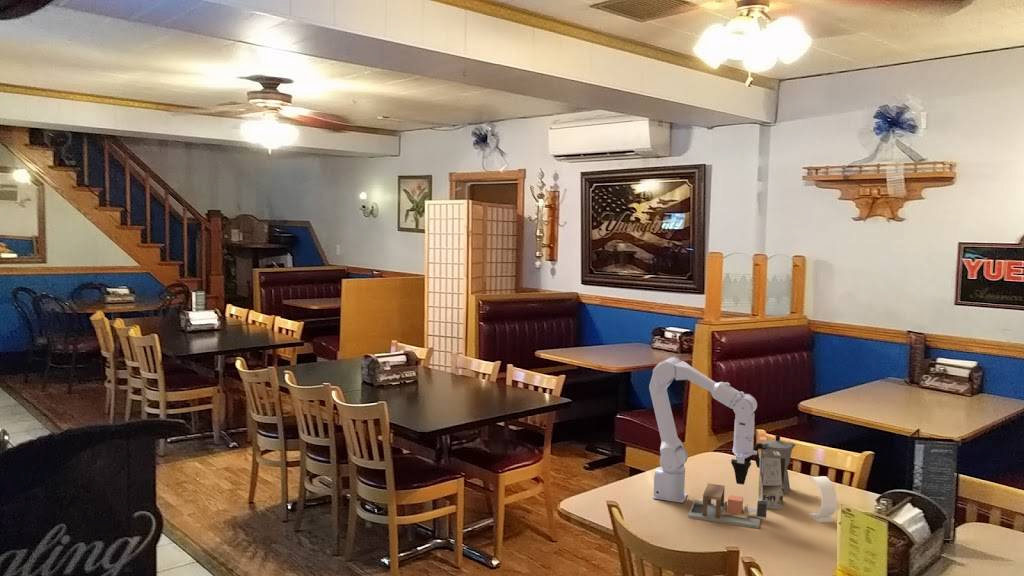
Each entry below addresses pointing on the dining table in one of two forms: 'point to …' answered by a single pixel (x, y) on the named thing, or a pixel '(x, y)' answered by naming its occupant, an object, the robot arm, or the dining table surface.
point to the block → (735, 504)
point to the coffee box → (771, 478)
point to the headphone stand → (825, 500)
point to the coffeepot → (786, 451)
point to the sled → (760, 510)
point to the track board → (711, 515)
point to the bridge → (713, 493)
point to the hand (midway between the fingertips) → (741, 479)
